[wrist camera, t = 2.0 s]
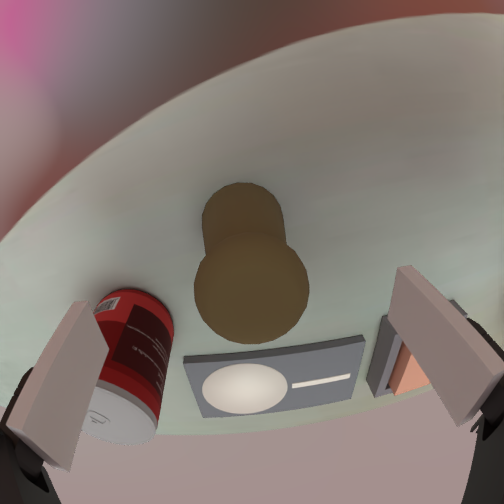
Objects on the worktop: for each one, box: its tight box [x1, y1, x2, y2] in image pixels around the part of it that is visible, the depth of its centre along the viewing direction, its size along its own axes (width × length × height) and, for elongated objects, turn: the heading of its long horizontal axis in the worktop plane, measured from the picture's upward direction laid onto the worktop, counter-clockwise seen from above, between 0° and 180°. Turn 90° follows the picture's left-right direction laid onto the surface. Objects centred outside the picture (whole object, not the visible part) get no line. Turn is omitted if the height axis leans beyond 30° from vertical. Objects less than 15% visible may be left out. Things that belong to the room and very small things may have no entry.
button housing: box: [366, 300, 468, 398], centre depth 28 cm, size 10×10×3 cm
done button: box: [388, 341, 430, 396], centre depth 26 cm, size 7×7×3 cm
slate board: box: [183, 335, 366, 418], centre depth 29 cm, size 18×10×1 cm, turn 94°
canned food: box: [81, 289, 174, 445], centre depth 20 cm, size 8×8×11 cm
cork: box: [194, 183, 309, 344], centre depth 17 cm, size 6×6×11 cm
